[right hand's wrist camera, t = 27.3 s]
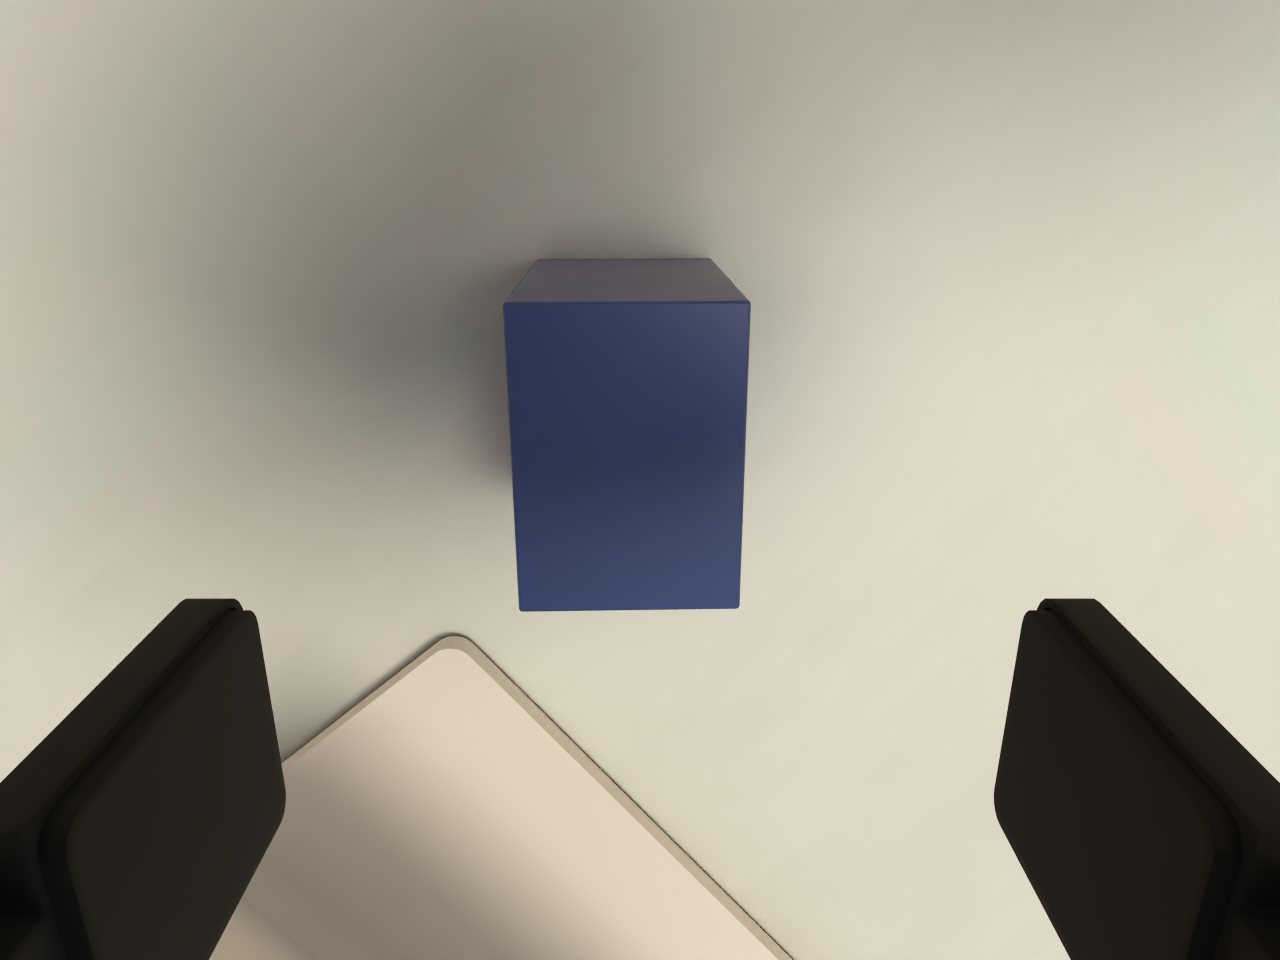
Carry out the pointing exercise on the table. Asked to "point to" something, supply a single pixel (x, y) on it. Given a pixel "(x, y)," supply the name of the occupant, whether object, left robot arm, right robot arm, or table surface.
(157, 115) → the table surface
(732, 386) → the block
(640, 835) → the tablet stand
